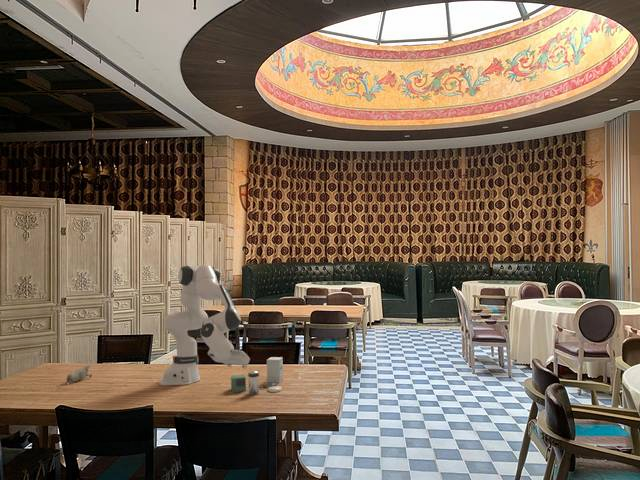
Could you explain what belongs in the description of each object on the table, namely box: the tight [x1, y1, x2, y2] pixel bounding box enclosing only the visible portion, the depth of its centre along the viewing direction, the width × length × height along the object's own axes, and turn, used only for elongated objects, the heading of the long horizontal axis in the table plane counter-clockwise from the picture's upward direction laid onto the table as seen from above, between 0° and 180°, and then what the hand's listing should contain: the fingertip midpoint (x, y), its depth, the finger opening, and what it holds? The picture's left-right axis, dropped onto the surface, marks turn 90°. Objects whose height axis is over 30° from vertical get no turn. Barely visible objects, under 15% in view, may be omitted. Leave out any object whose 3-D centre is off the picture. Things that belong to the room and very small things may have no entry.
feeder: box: [230, 374, 247, 393], centre depth 263 cm, size 7×7×7 cm
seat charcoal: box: [263, 381, 278, 389], centre depth 270 cm, size 7×7×1 cm
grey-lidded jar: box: [247, 369, 260, 396], centre depth 257 cm, size 5×5×11 cm
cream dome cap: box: [267, 385, 283, 393], centre depth 261 cm, size 7×7×1 cm
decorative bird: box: [66, 364, 92, 384], centre depth 290 cm, size 5×16×8 cm, turn 160°
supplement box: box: [266, 356, 284, 384], centre depth 279 cm, size 7×7×13 cm
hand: (237, 366), depth 246 cm, fingers open, 8 cm apart
